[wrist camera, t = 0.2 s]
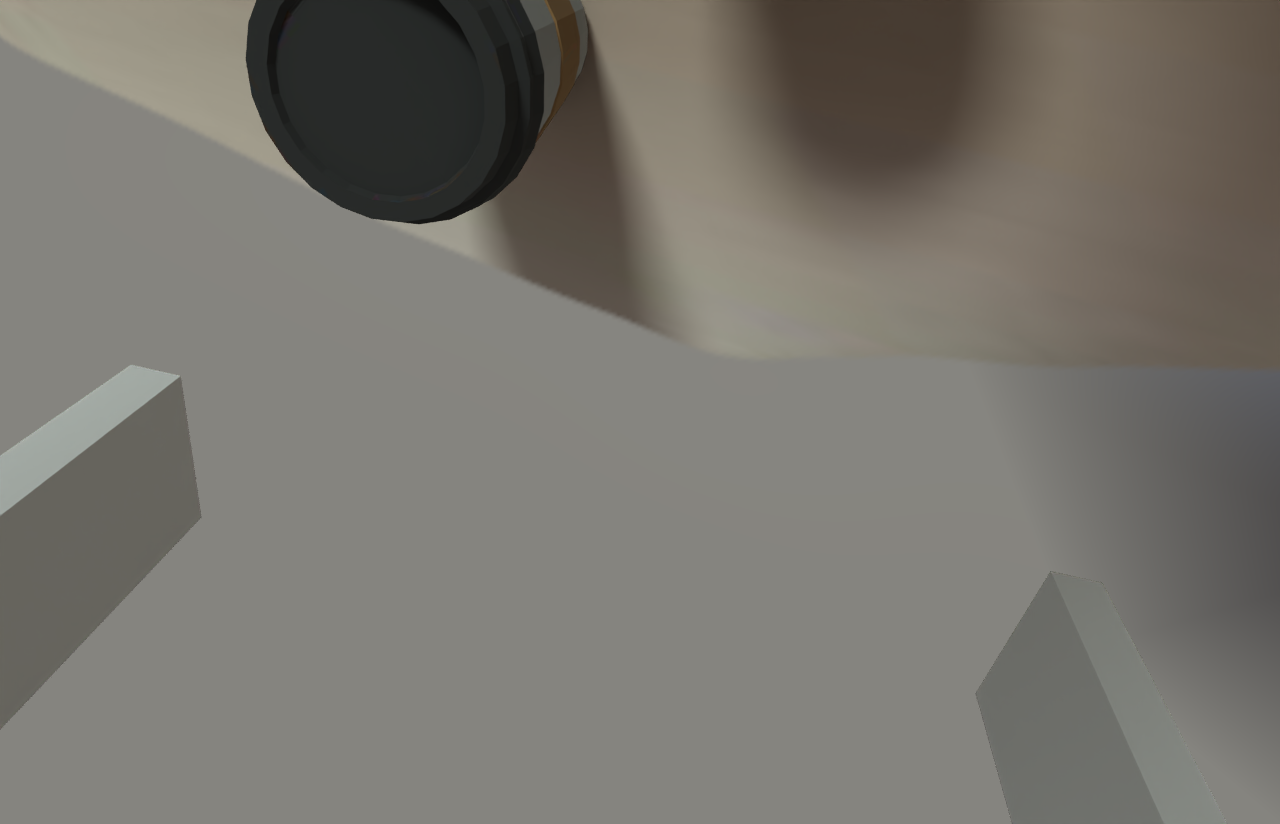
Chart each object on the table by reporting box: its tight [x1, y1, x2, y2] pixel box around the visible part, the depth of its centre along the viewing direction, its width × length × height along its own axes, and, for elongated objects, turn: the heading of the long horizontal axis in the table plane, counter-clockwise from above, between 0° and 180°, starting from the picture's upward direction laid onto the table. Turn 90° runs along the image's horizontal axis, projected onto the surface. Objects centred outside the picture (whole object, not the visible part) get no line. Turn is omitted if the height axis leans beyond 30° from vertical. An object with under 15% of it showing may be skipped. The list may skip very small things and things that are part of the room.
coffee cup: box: [246, 0, 588, 224], centre depth 28 cm, size 8×8×15 cm
